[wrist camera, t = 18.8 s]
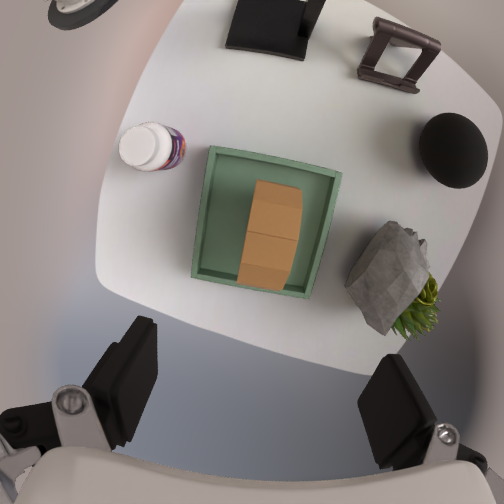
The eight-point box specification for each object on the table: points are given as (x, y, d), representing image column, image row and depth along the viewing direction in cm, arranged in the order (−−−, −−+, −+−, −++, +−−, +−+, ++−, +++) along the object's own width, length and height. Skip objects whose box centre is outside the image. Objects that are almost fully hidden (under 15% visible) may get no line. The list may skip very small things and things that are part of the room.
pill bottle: (173, 176, 33) (143, 183, 24) (141, 156, 32) (103, 157, 23) (195, 140, 32) (172, 134, 22) (162, 121, 31) (129, 109, 22)
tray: (195, 269, 37) (190, 277, 35) (213, 146, 32) (210, 145, 29) (305, 290, 38) (308, 299, 35) (336, 171, 32) (342, 172, 30)
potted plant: (401, 198, 30) (472, 270, 28) (350, 248, 41) (414, 304, 39) (379, 263, 23) (464, 344, 22) (317, 308, 34) (394, 366, 33)
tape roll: (240, 260, 36) (232, 302, 25) (257, 176, 32) (255, 183, 22) (274, 267, 36) (279, 310, 26) (293, 184, 32) (309, 195, 22)
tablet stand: (355, 79, 28) (380, 60, 20) (354, 32, 26) (375, 6, 18) (412, 95, 28) (445, 84, 20) (409, 49, 26) (438, 31, 18)
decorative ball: (432, 103, 28) (475, 94, 19) (465, 157, 30) (509, 162, 21) (394, 142, 31) (435, 139, 21) (431, 197, 33) (474, 211, 23)
